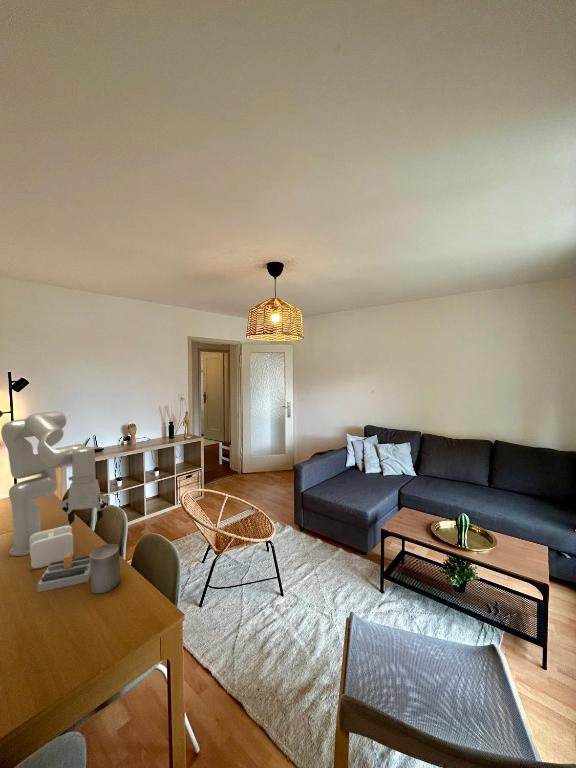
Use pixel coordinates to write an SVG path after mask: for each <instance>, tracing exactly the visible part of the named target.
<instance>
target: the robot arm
mask: <svg viewBox="0 0 576 768" xmlns="http://www.w3.org/2000/svg"><path fill="white" fill-rule="evenodd" d="M66 425H67V418H66V416H65V414H64V413H63V412H61V411H58V410H52V411H46V412H45V411H44V412H36V413H35V412H34V413H32V414H30V415H28V416H27V417H26V418H23V419H21V418H20V419H15V420H10V421H8V422H5V423H4V424H3V425H2V426H1V430H0V433H1V439H2V441H3V443H4V445H5V447H6V449H7V452H8V453H7V454H8V461H9V469H10V473H11V476H12V478H13V479H16V480H19V479H25V478H29V477H32V476H36V475H40V476H37V477H35V478H33V477H32V478H29V479H27V480H22V481H19V482H17V483H15V484H14V485H12V486H11V487H10V488H9V489H8V490H9V491H8V497H9V500H10V504H11V511H12V528H13V529H12V534H13V546H12V547H11V548H10V549H9V555H10V556H11V557H23V556H27V555H30V541H29V540H30V536H31V535H33V534H34V533H37V532H41V531H42V529H41V525H42V524H41V509H40V506H39V505H38V504H37V503H35V500H37V499H40V498H43V497H46V496H49V495H51V494H54V493H55V492H56V491H57V489H58V477H57V469H59V468H63V467H66V466H70V465H72V466H71V467H72V468H71V469H72V475H71V476H69V477H68V481H72V482H71V483H70V485H69V488H68V489H69V491H68V498H66V499H64V500H62V501H61V502H59V506H60V508H61V509H62V511H64V512H65V514H66V515H67V522H68V524H69V525H71V524H73V523H74V522H75V519H76V517H75V515H76V514H75V510H77V511H78V510H86V509H93V508H95V509H96V520H97V522H98V521H100V520H101V519H102V518H103V516H104V513H103V512H104V511H103V510H104V508H105V507H106V506H107V505H108V502H109V501H110V499H111V497H110V496H107V495H104V494H101V490H100V489H101V488H100V485H99V481H98V479H96V455H95V454H96V452H95V451H96V450H95V449H94V447H92V446H86V445H85V444H83V443H77V444H76V443H75V444H72V445H66V446H62V447H61V446H60V447H55V448H52V447H53V446H55V445H56V444H58V443H59V442H60V441H61V440H62V439H63V437H64V430H63V429H64V428H65V426H66ZM32 437H35V438H36V439H37V440H38V443H37V447H36V450H37V453H34V447H33V445H32V443H31V442H30V441H29V440H28V439H27V438H32ZM101 500H103V503H101Z"/></svg>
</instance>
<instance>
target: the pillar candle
mask: <svg viewBox="0 0 576 768" xmlns="http://www.w3.org/2000/svg"><path fill="white" fill-rule="evenodd" d="M89 555H90V567H91V575H90V587H91V592H92V593H93V594H104V593H107V592H111V591H112V590H114V589H115V588H116V587H118V586H119V584H120V582H121V562H120V547H119V544H116V543H106V544H102V545H99V546H97V547H95V548H94V549H93V550H92V551H91V552H90V554H89Z"/></svg>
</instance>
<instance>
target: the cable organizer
mask: <svg viewBox="0 0 576 768" xmlns="http://www.w3.org/2000/svg"><path fill="white" fill-rule="evenodd" d="M29 541H30V554H29V557H30V564H31V565H30V566H31V568H33V569H41V568H45V567H48V566H49V565H50V564H51V563H52V562H57V561H62V560H64V556H65V554H68V553H72V557H73V556H74V534H73V528H72V526H71V525H70V524H69V525H66V524H65V525H63V526H58V527H54V528H51V529H46V530H41V532H37V533H34V534H33V535H31V536H30V540H29Z"/></svg>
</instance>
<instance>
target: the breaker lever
mask: <svg viewBox="0 0 576 768" xmlns="http://www.w3.org/2000/svg"><path fill="white" fill-rule="evenodd" d="M72 559H73V556H72V553H68V554H65V556H64V567H63V569H66V568H72V567H73V563H72Z"/></svg>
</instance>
